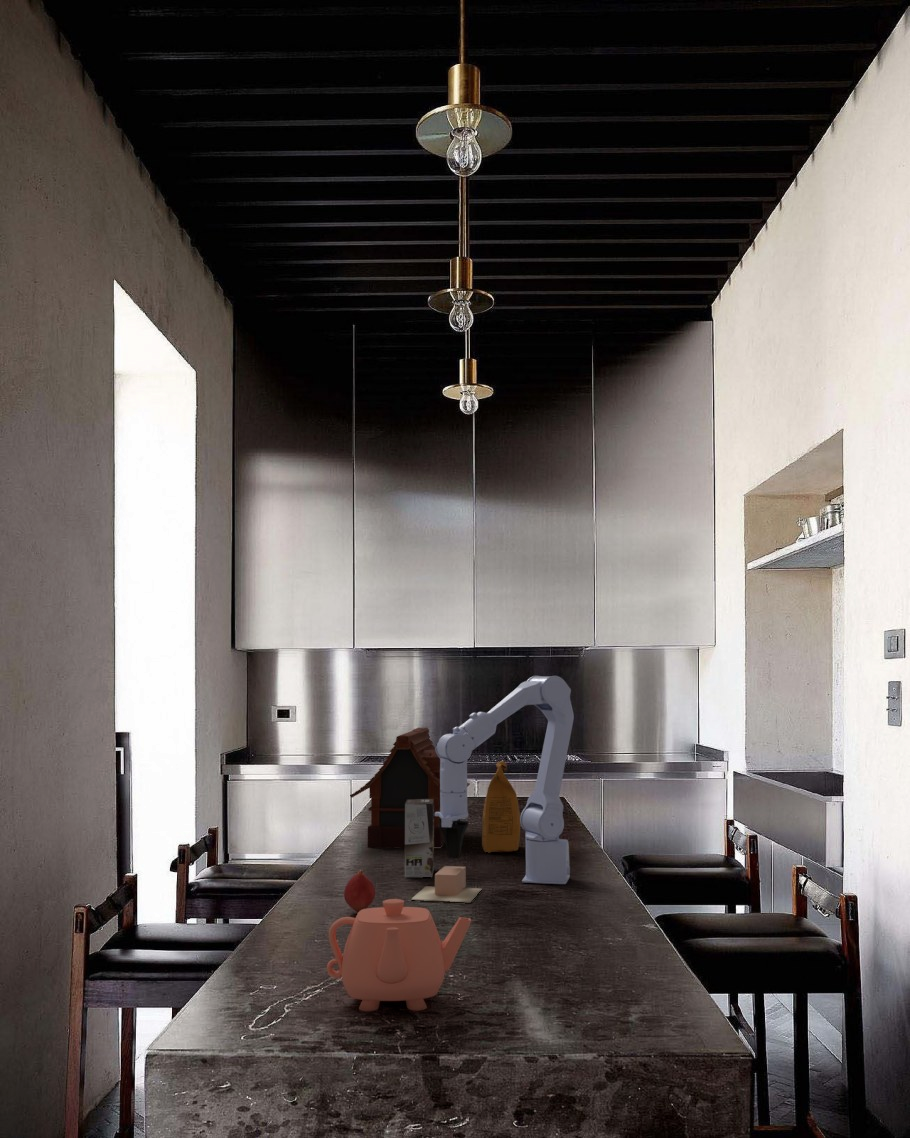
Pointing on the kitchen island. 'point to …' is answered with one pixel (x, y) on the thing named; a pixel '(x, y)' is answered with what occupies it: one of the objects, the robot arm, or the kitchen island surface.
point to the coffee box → (419, 838)
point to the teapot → (394, 955)
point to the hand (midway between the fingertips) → (454, 857)
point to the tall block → (450, 880)
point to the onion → (359, 892)
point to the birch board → (429, 895)
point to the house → (403, 788)
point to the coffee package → (500, 815)
